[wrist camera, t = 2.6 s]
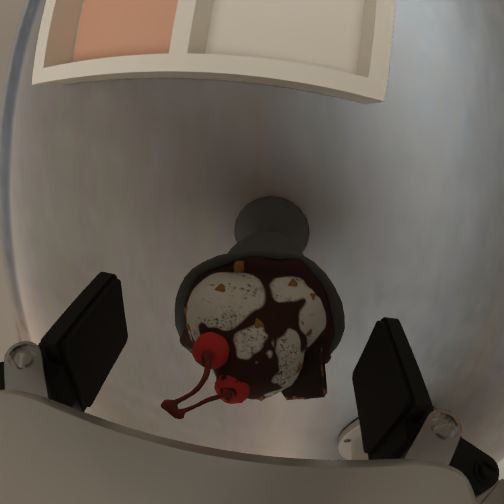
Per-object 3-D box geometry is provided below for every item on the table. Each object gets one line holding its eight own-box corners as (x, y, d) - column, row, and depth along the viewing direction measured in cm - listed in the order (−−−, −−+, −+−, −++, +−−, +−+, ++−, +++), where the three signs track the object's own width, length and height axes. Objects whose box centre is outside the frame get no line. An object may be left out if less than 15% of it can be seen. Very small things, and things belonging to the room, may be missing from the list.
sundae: (209, 196, 20) (79, 355, 7) (311, 174, 19) (364, 329, 5) (235, 282, 23) (178, 476, 9) (327, 267, 21) (361, 471, 8)
